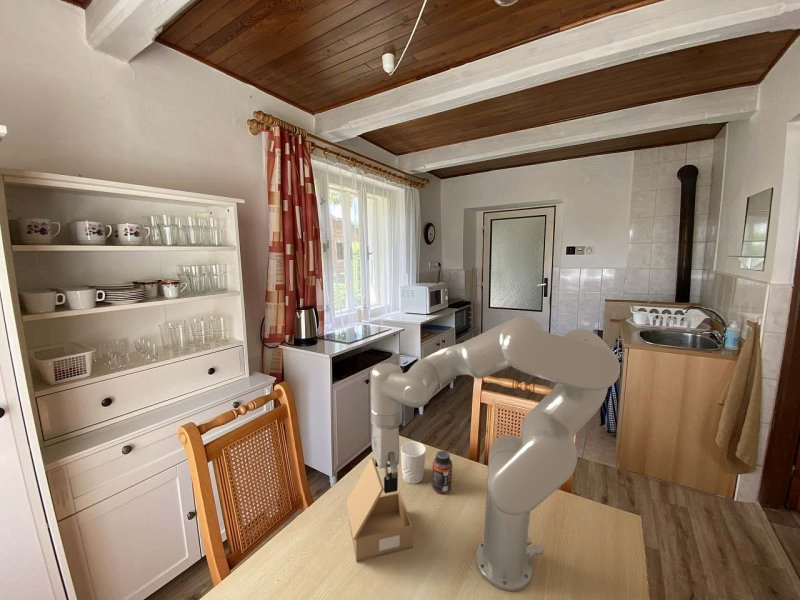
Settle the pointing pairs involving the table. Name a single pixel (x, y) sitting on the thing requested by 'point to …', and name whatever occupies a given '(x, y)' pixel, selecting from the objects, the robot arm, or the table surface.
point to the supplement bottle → (442, 472)
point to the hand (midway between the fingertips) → (385, 477)
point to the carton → (385, 529)
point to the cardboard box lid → (364, 497)
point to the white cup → (413, 461)
